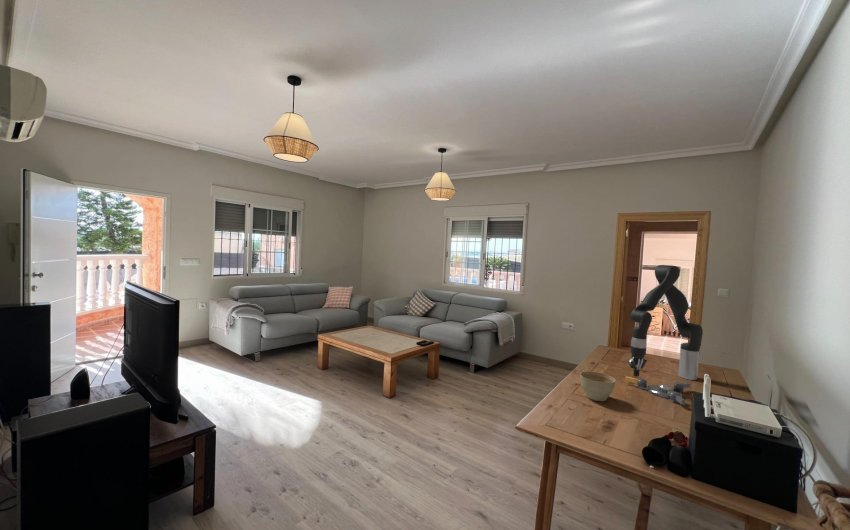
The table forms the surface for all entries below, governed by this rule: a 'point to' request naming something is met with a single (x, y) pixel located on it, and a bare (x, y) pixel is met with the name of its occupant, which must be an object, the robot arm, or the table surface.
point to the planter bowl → (597, 385)
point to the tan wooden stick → (637, 381)
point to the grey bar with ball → (681, 386)
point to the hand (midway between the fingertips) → (636, 376)
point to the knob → (676, 397)
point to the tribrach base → (661, 391)
